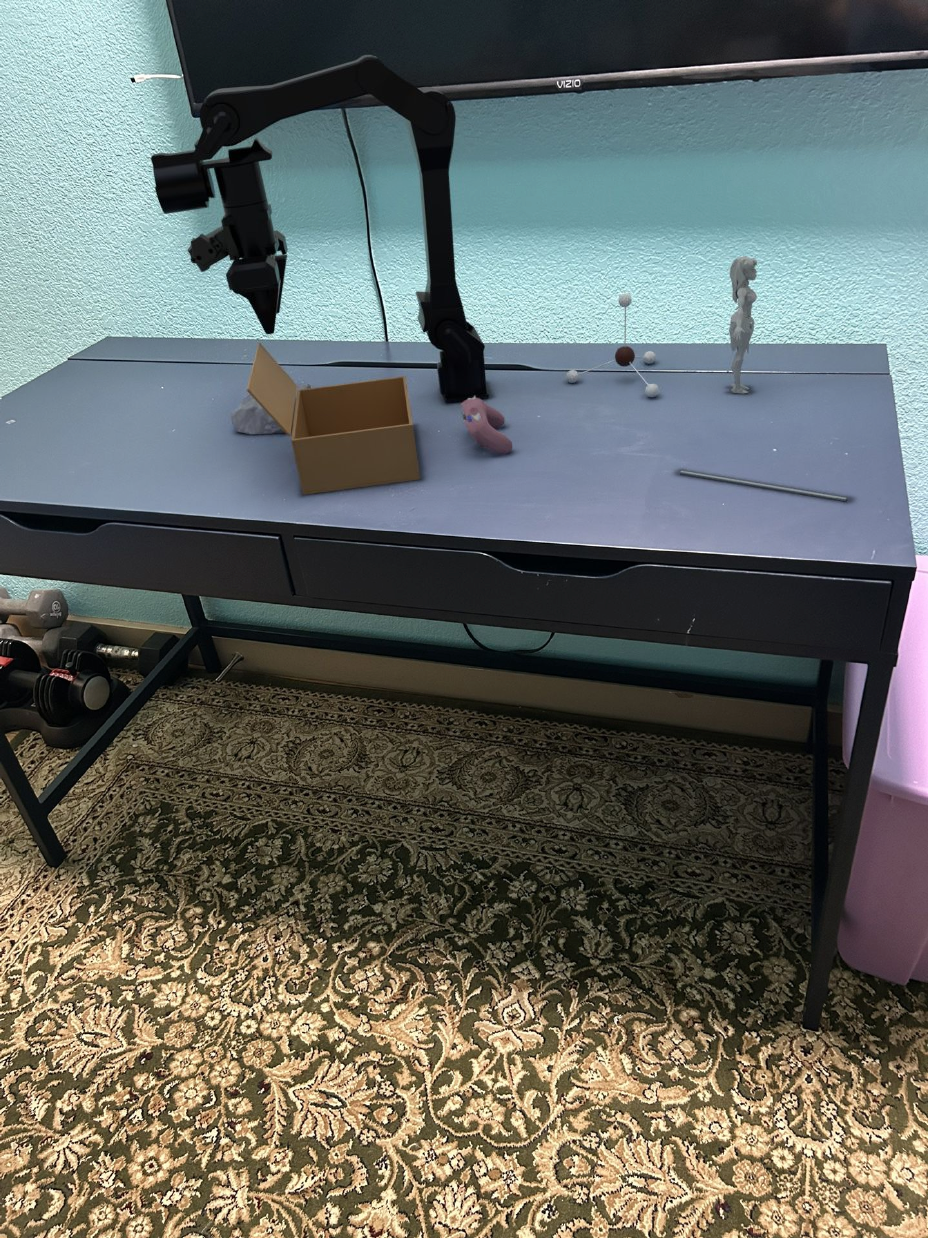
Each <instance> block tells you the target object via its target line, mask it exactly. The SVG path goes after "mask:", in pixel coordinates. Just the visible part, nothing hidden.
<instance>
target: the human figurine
mask: <svg viewBox="0 0 928 1238" xmlns="http://www.w3.org/2000/svg"><path fill="white" fill-rule="evenodd" d="M757 265H758V261H757V259H756V258H754V257H748V256H746V255H743V256H738V257H737V258H735V259H733V261H732V263H731V266H730V268H729V278H730V281H731V287H732V294H731V295H732V296H731V297H732V301H733V302H734V303H735V304H737V307H736V308H735V310H737V311H735V312H734V313H732V315H731V316H730V322H729V324H730V325H729V327H728V333H729V339H730V343H729V344H730V348H731V349H730V350H731V352H732V353H734V352H735V351H737V352H736V353H735V355H734V356H733V360H732V362H731V372H732V375H733V379H734V380H733V381H734V382H733V383H731V387H732V388H730V391H731V392H732V393H733V394H748V393H749V390H750V388H749V387H748V386H745V385H744V384H742V383H741V373H742V366H743V362H744V356H745V353H747V354H749V352H750V342H751V338H752V336H753V334H754V330H755V320H754V318H753V317H752V308H753V304H754V303H756V301H757V299H758V296H757V293H756V291H755V290H753V289H752V288H751V287H750V281H755V280H756V278H757V273H758V271H757V269H756V268H755V267H756V266H757Z"/></svg>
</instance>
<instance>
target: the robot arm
mask: <svg viewBox="0 0 928 1238" xmlns="http://www.w3.org/2000/svg"><path fill="white" fill-rule="evenodd" d="M369 95H370V96H371V97H374V98H375V99H376V100H378V101H379V102H380V103H382V104H384V105H385V106H387V107H388V108H389V109H391V110H393V111H394V112H395V113H396V114H398V115H400V116H401V117H403V118H404V119H405V123H406V127H407V131H408V135H409V139H410V144H411V147H412V151H413V154H414V155H413V156H414V158H415V161H416V166H417V170H418V176H419V188H420V189H419V191H420V201H421V214H422V215H421V216H422V227H423V239H424V252H425V263H426V264H425V265H426V283H425V284H426V285H425V290H424V291H421V290H420V291H419V290H418V291H417V290H416V291H415V295H416V299H417V303H418V315H417V320H418V321H417V322H418V323H419V325H420V328H421V330H422V333H426V335H427V337H428V340H429V342H430V344H431V345H432V346H433V347H435V348H436V349H437V350H440V351H439V361H438V362H437V363H436V369H437V378H438V379H437V380H438V386H439V392H440V395H441V396H443V398H444V401H445V403H454V402H464V401H465V400H467V399H468V398H473V397H474V396H476V398H480V399H485V398H489V397H490V393H489V390H488V386H487V375H486V365H485V364H486V363H485V353H484V351H485V348H486V345H485V344H484V342H483V340H482V338H481V336H480V334H479V333H478V331H477V329H476V328H475V326H474V325H472V324H471V323H470V322H469V321H467V317H466V313H465V310H464V305H463V301H462V298H461V295H460V290H459V288H458V284H457V279H456V277H457V276H456V264H455V248H454V245H455V244H454V232H453V217H452V216H453V215H452V199H451V185H450V184H451V183H450V166H451V161H452V156H453V150H454V142H455V134H456V133H455V132H456V122H457V121H456V120H457V119H456V118H457V116H456V109H455V106H454V104H453V103H452V101H451V100H450V98H449V97H447V95H446V94H444V93H442V92H441V91H440V90H438V89H435V88H433V87H429V86H424V87H420V88H418V87H417V86H415V85H414V84H412V83H411V82H410V81H408V80H407V79H405V78H404V77H402V76H400V75H399V74H398V73H396V72H395V71H394V70H392V69H391V68H389V67H387V65H385V63H384V62H383V61H382V60H381V59H379V58H378V57H377V56H375V55H372V54H363V55H362V56H360V57H358V58H357V59H356V60H353V61H348V62H345V63H341V64H338V65H335V66H332V67H329V68H328V67H327V68H325V69H321V70H318V71H315V72H312V73H308V74H305V75H302V76H299V77H294V78H291V79H289V80H288V79H287V80H284V81H281V82H277V83H274V84H270V85H254V86H253V85H252V86H251V85H250V86H240V87H238V86H237V87H236V86H235V87H224V88H218V89H216V90H213V91H212V92H210V93H209V94H208V95H207V97H206V98H205V99H204V100H203V102H202V104H201V107H200V108H199V121H200V122H199V123H200V126H201V129H202V131H201V133H200V136H199V138H198V139H196V141H195V143H194V144H193V145H194V149H191V150H185V151H178V152H170V153H168V152H159V153H158V152H157V153H152V155H151V157H150V161H151V165H152V171H153V178H154V184H155V186H154V191H155V193H156V197H157V201H158V203H159V207H160V209H161V211H162V213H163V214H164V215H169V214H176V213H182V212H189V211H190V212H191V211H196V210H202V209H209V208H210V199H216V190H215V186H214V185H215V184H214V181H213V176H212V174H211V169H213V171H214V175H215V179H216V183H217V187H218V191H219V196H220V199H221V203H222V208H223V212H224V214H223V217H222V218H221V220H220V222H221V226H219V227H216V228H215V229H214V230H212V231H210V232H209V233H207V234H204V233H200V234H199V235H198V236H197V237H193V238H192V239H191V240H190V245H189V247H188V248H187V253H188V254H189V257H190V262H191V264H196V266H197V267H198V269H199V271H200V272H201V273H204V272H206V271H208V270H209V269H211V266H213V265H215V264H217V263H219V262H220V261H222V260H224V259H225V258H227V257H229V261H232V262H231V264H230V266H229V267H228V269H227V271H226V274H225V279H226V282H227V285H228V290H229V291H232V292H233V293H234V294H235V295H239V296H241V297H243V298H244V299H246V300H247V301H248V303H249V304H250V307H251V308H252V310H253V312H254V314H255V316H256V318H257V320H258V321H259V323H260V326H261V327H262V329H263V331H264V333H265V335H273V334H274V333H275V330H276V329H275V328H276V322H277V321H276V320H277V314H280V311H281V305H282V298H283V290H284V283H285V275H286V269H287V262H288V251H289V248H288V244H287V239H286V236H285V235H284V234H282V233H281V232H280V231H278V230H275V229H274V225H273V220H272V214H273V209H272V204H271V203H269V201H268V197H267V192H266V188H265V184H264V178H263V174H262V170H261V164H260V162H265V161H266V162H267V161H272V159H273V151H272V150H271V149H270V148H268V147H266V146H265V145H264V144H263V143H262V142H261V141H260V139H259V138H258V137H255V138H254V139H253V142H252V143H251V145H250V146H242V147H236V148H229V147H234V146H236V145H238V144H240V143H242V142H245V141H246V140H248V139H250V138H252V137H254V136H256V135H257V134H259V133H260V132H262V131H264V130H266V129H268V128H269V127H271V126H272V125H274V124H276V123H278V122H280V121H282V120H285V119H289V118H292V117H296V116H299V115H302V114H306V113H310V112H313V111H316V110H319V109H323V108H326V107H329V106H332V105H336V104H339V103H344V102H347V101H350V100H353V99H357V98H360V97H363V96H369ZM223 147H225V148H226V147H227V148H228V150H227V153H228V154H227V155H228V157H224V158H223V157H222V158H219V159H218V158H217V159H213V158H214V157H215V156H216V154H218V152H219V151H220V150H221V149H222V148H223ZM278 252H281V254H278V255H277V253H278Z"/></svg>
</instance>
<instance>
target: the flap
mask: <svg viewBox="0 0 928 1238" xmlns="http://www.w3.org/2000/svg"><path fill="white" fill-rule="evenodd" d="M296 383H297V382H295V381H294V380H293V379H292V378H291V377H290V375H289V374H288V373H287V372H286V371H285V370H284V369H283V367H282V366H281V365H280V364H279V363H278V362H277V360H276V359H275V358H274V357H273V356H272V355H271V353H270V352H269V351H268V350H267V349H266V348H265V347H264V346H263V345H262V343H261V342H258V344H257V347H256V351H255V355H254V358H253V363H252V366H251V371H250V374H249V379H248V383H247V387H246V392H247V393H248V395H251V396H252V397H253V398H254V399H255V400H256V401H257V402H258V403H259V404H260V406H261V407H262V408H263V409H264V410H265V411H266V412H267V413H268V414H269V415H270V416H271V418H272V419H273V420H274V421H275V422H276V423H277V424H278V425H279V426H280V427H281V428H282V430H283V431H284V432H285V433H284V434H286V436H288V437H290V436H291V435H292V429H291V426H292V419H293V411H294V403H295V395H296V388H297V385H296Z"/></svg>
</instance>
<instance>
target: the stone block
mask: <svg viewBox="0 0 928 1238" xmlns="http://www.w3.org/2000/svg"><path fill="white" fill-rule="evenodd" d="M295 383H296V385H297V388H296V395H295V403H294V411H293V419H292V426H291V430H292V429H293V421H294V413H295V405H296V397H297V390H301V389H308V388H312V386H311V384H310V383H306V384H304V383H303V384H302V383H297V382H295ZM230 421H231V424H232V425H233V427H234V429H235V430H236V431H237V432H238V433H243V434H247V435H251V436H252V435H253V436H254V435H266V434H268V435H269V434H272V435H273V434H286V433H285V432H284V431H283V430H282V428H281V427H280V426H279V425H278V424H277V423H276V422H275V421H274V420H273V419H272V418H271V416H270V415H269V414H268V413H267V412H266V411H265V410H264V409H263V408H262V407H261V406H260V404H259V403H258V402H257V401H256V400H255V399H254V398H253V397H252V396H251V395H250V394H248V395H246V397H244V399H242V401H241V403H240V404H239V406H238V407H236V408H235V409H234V410H233V411H232V412H230Z"/></svg>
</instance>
